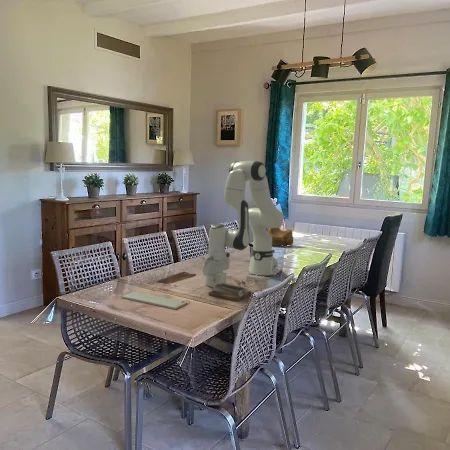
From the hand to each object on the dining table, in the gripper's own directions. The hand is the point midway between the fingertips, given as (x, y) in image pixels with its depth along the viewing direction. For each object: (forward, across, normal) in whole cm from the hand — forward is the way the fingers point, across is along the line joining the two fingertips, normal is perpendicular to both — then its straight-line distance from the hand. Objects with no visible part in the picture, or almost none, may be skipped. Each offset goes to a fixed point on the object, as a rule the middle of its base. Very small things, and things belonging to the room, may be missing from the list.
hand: (215, 280), depth 235 cm
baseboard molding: (+4, -37, +9) cm, 38 cm away
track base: (+3, -8, -14) cm, 16 cm away
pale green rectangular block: (+3, 0, 0) cm, 3 cm away
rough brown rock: (+4, +130, +28) cm, 133 cm away
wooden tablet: (+4, 0, +27) cm, 27 cm away
